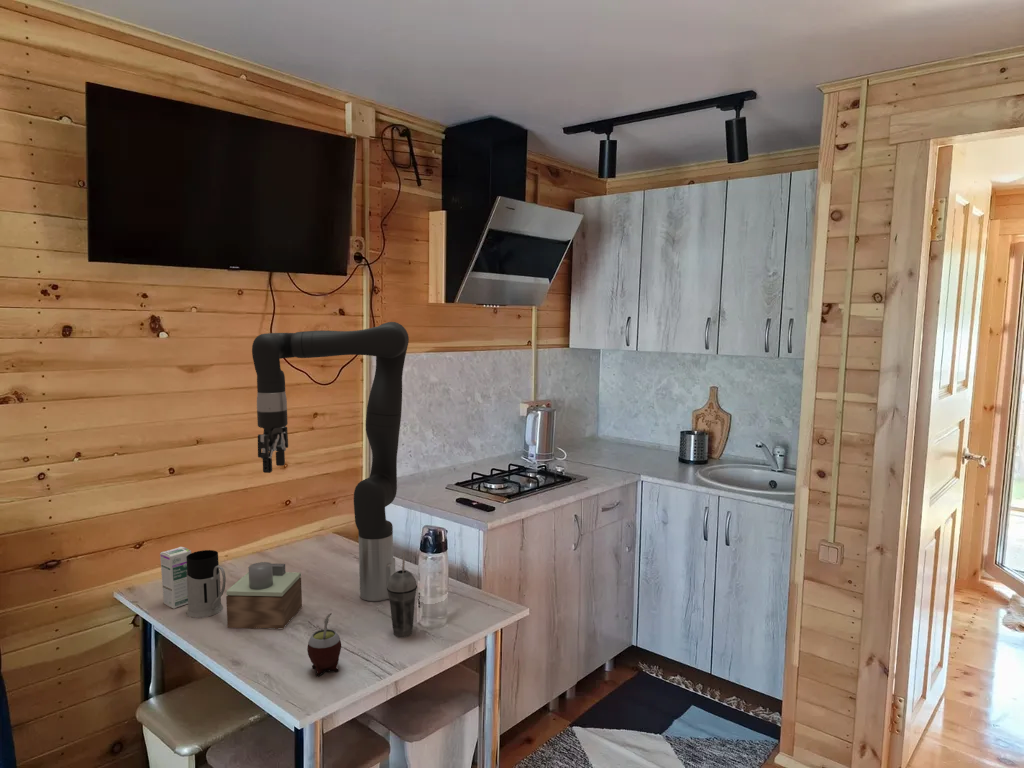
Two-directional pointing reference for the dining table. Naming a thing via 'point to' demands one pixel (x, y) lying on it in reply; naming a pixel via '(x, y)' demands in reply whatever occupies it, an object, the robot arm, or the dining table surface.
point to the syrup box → (174, 576)
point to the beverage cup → (402, 601)
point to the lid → (279, 587)
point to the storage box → (264, 609)
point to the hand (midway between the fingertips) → (274, 468)
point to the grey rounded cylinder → (260, 575)
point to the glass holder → (204, 584)
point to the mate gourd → (324, 649)
